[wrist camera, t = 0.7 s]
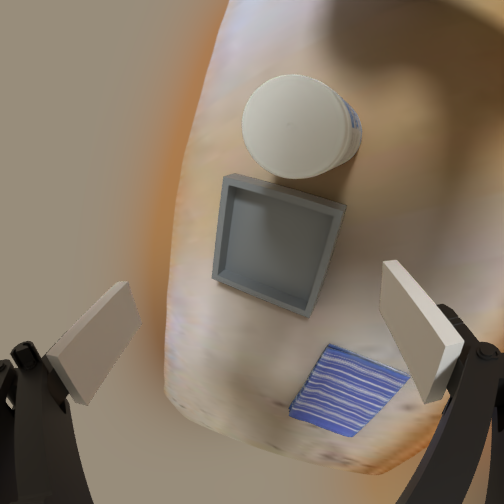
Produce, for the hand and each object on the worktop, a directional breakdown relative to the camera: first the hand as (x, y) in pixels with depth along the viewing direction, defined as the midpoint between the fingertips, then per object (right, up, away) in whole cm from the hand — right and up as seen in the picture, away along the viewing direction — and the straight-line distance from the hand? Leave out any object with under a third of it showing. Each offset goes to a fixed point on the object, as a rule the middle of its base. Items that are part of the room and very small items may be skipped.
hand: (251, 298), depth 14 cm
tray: (+4, +4, +29) cm, 30 cm away
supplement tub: (+10, +18, +20) cm, 29 cm away
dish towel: (+18, -26, +36) cm, 48 cm away
